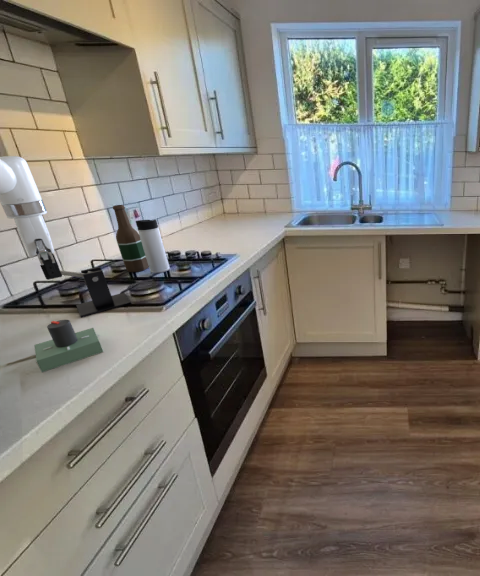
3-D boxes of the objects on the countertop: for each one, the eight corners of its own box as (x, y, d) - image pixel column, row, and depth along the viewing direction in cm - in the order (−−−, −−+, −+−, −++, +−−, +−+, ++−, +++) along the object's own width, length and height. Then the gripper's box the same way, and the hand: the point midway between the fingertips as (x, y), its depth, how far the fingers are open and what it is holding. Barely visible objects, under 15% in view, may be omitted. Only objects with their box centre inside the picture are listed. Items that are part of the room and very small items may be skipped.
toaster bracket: (82, 320, 99) (66, 281, 95) (77, 309, 106) (62, 271, 101) (132, 306, 107) (120, 269, 102) (125, 296, 114) (113, 261, 109)
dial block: (41, 372, 78) (35, 360, 77) (39, 355, 84) (34, 344, 83) (103, 351, 85) (98, 340, 83) (97, 337, 91) (93, 326, 89)
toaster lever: (48, 278, 94) (49, 269, 93) (46, 272, 98) (48, 264, 97) (100, 284, 102) (102, 275, 101) (97, 278, 106) (99, 270, 106)
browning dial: (81, 339, 84) (73, 319, 82) (63, 348, 81) (54, 328, 79) (69, 337, 85) (61, 317, 83) (51, 346, 82) (41, 325, 80)
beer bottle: (154, 266, 139) (136, 204, 129) (134, 273, 133) (113, 208, 123) (141, 264, 142) (122, 203, 133) (121, 271, 136) (99, 206, 126)
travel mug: (146, 275, 131) (129, 221, 123) (159, 269, 137) (143, 216, 129) (162, 276, 130) (146, 221, 122) (174, 269, 136) (159, 216, 128)
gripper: (4, 207, 93) (33, 269, 100) (4, 217, 81) (36, 286, 88) (43, 202, 97) (67, 262, 105) (47, 211, 86) (74, 277, 93)
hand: (53, 273), depth 96 cm, fingers open, 9 cm apart
